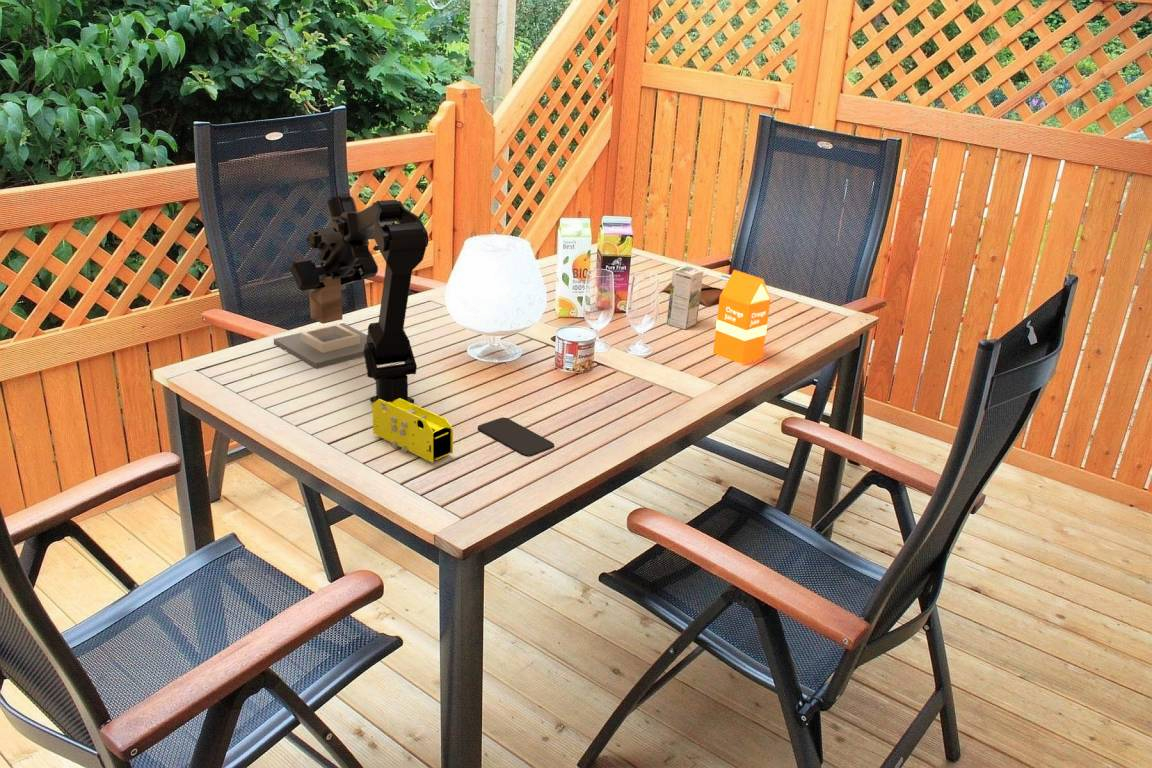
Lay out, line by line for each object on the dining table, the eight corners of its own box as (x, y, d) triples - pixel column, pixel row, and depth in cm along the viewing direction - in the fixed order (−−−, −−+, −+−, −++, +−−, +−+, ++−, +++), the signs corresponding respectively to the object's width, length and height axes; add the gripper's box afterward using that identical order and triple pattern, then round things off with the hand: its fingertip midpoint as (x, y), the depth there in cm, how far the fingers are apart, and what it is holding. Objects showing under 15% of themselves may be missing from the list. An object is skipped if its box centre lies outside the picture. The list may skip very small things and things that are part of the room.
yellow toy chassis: (371, 438, 177) (369, 396, 174) (395, 428, 181) (394, 388, 178) (430, 467, 168) (430, 424, 165) (454, 457, 172) (454, 414, 169)
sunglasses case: (657, 290, 269) (667, 268, 269) (670, 298, 274) (679, 277, 274) (709, 307, 257) (719, 284, 257) (721, 315, 263) (731, 293, 263)
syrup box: (677, 319, 247) (683, 264, 242) (697, 324, 244) (703, 269, 238) (666, 324, 243) (671, 269, 237) (686, 330, 240) (692, 274, 234)
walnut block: (342, 319, 214) (340, 276, 210) (322, 323, 210) (320, 279, 206) (330, 313, 217) (328, 270, 213) (310, 317, 213) (308, 274, 210)
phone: (527, 456, 173) (474, 426, 182) (526, 460, 173) (474, 430, 183) (557, 444, 178) (504, 416, 187) (556, 448, 178) (504, 420, 188)
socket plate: (387, 350, 217) (386, 336, 216) (315, 368, 205) (315, 354, 204) (343, 327, 228) (343, 315, 227) (274, 343, 217) (273, 330, 215)
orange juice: (741, 365, 220) (752, 281, 212) (712, 353, 226) (722, 271, 218) (763, 358, 225) (774, 276, 217) (734, 347, 231) (744, 266, 223)
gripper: (369, 213, 208) (343, 251, 219) (291, 224, 196) (268, 264, 207) (391, 256, 206) (363, 292, 217) (313, 271, 194) (289, 308, 205)
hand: (321, 288), depth 212 cm, fingers closed on walnut block, 5 cm apart
